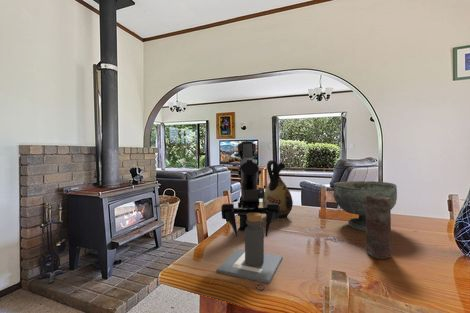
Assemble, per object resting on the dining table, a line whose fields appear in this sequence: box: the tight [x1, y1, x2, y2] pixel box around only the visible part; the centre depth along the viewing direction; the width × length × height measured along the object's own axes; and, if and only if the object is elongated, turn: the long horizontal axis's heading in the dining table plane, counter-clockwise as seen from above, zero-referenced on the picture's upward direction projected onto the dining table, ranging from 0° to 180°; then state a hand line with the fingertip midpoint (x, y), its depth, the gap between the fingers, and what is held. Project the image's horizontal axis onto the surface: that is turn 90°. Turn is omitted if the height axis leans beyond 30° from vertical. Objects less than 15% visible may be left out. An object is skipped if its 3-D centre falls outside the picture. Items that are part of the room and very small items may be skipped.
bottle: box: [244, 213, 265, 266], centre depth 75 cm, size 6×6×15 cm
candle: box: [365, 195, 392, 260], centre depth 81 cm, size 8×7×20 cm
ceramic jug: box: [262, 159, 294, 221], centre depth 124 cm, size 17×15×30 cm
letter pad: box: [216, 248, 284, 284], centre depth 75 cm, size 16×16×1 cm
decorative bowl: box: [333, 180, 398, 232], centre depth 110 cm, size 26×26×20 cm
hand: (251, 236), depth 74 cm, fingers open, 9 cm apart
